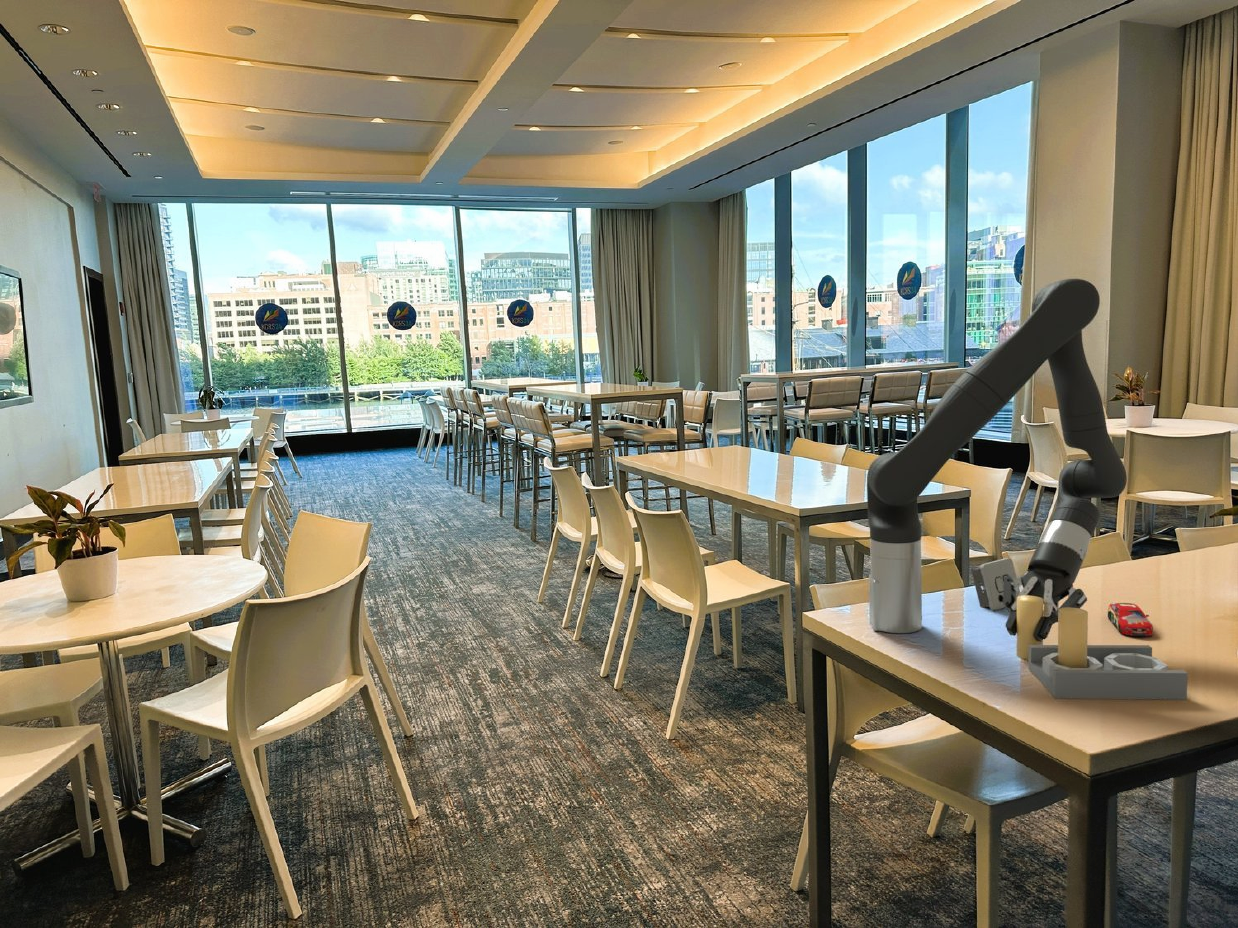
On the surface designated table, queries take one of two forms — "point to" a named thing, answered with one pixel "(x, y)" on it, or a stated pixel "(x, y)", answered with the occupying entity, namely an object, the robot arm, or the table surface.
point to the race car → (1129, 619)
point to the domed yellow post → (1027, 623)
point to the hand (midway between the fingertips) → (1023, 635)
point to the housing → (1101, 666)
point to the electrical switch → (993, 582)
